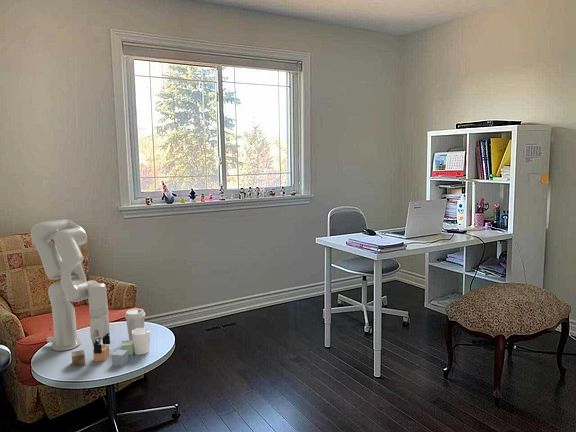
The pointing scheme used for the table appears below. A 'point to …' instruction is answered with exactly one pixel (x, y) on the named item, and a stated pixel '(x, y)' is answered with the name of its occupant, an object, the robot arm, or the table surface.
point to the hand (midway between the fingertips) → (102, 348)
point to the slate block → (120, 357)
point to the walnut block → (78, 358)
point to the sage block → (128, 346)
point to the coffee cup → (134, 320)
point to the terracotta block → (102, 354)
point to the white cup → (141, 340)
